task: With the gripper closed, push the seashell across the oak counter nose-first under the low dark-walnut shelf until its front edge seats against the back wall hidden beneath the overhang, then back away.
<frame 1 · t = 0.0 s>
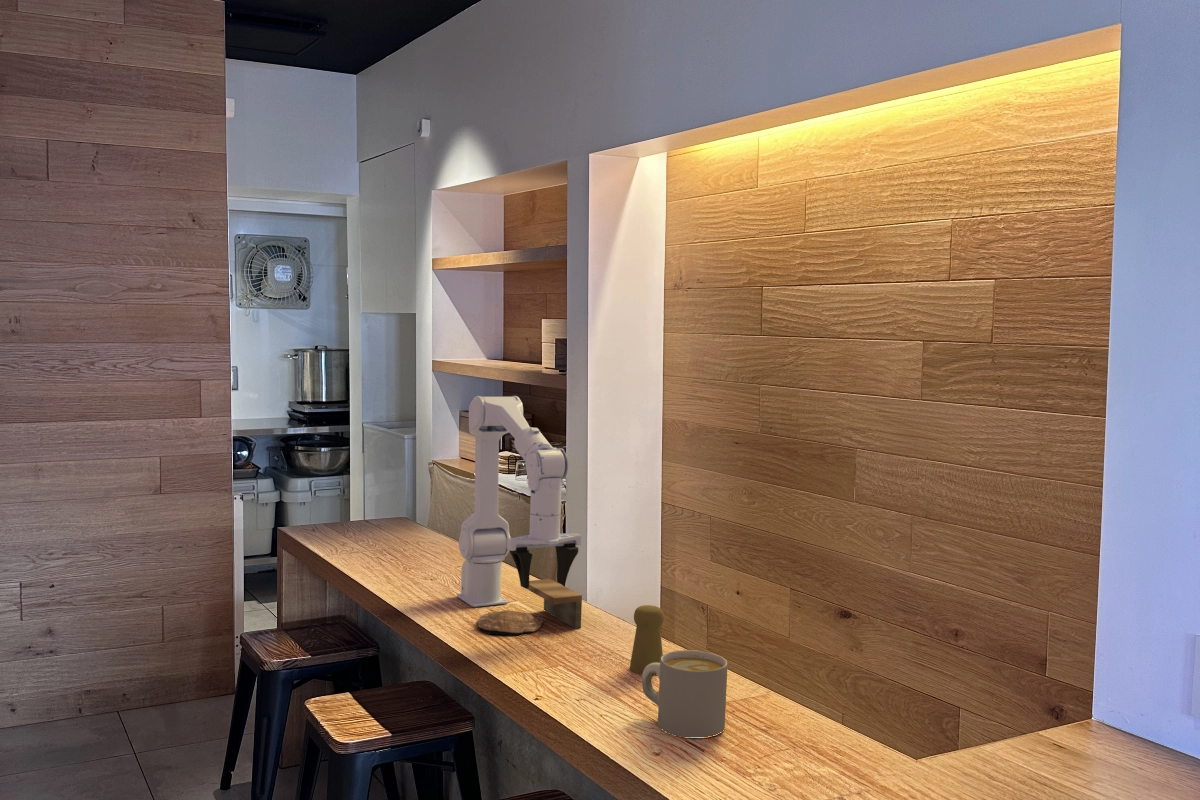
hand: (543, 585, 195), 10 cm above the table, tool pointing down, fingers open, 7 cm apart
coffee mug: (682, 724, 157), on the table
walnut shelf: (551, 620, 208), on the table
olive pepper mill: (646, 670, 181), on the table
shell: (507, 630, 203), on the table
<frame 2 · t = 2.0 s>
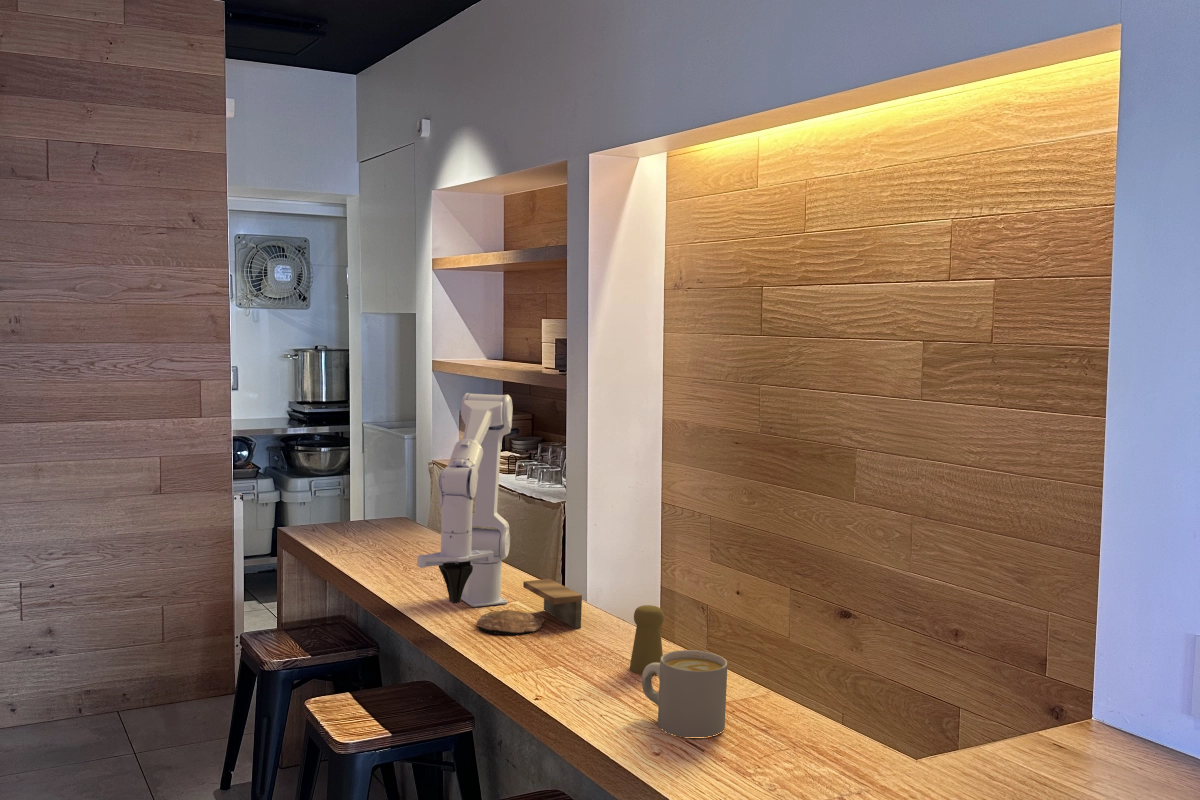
hand: (454, 602, 197), 6 cm above the table, tool pointing down, fingers closed
nothing on the table moved.
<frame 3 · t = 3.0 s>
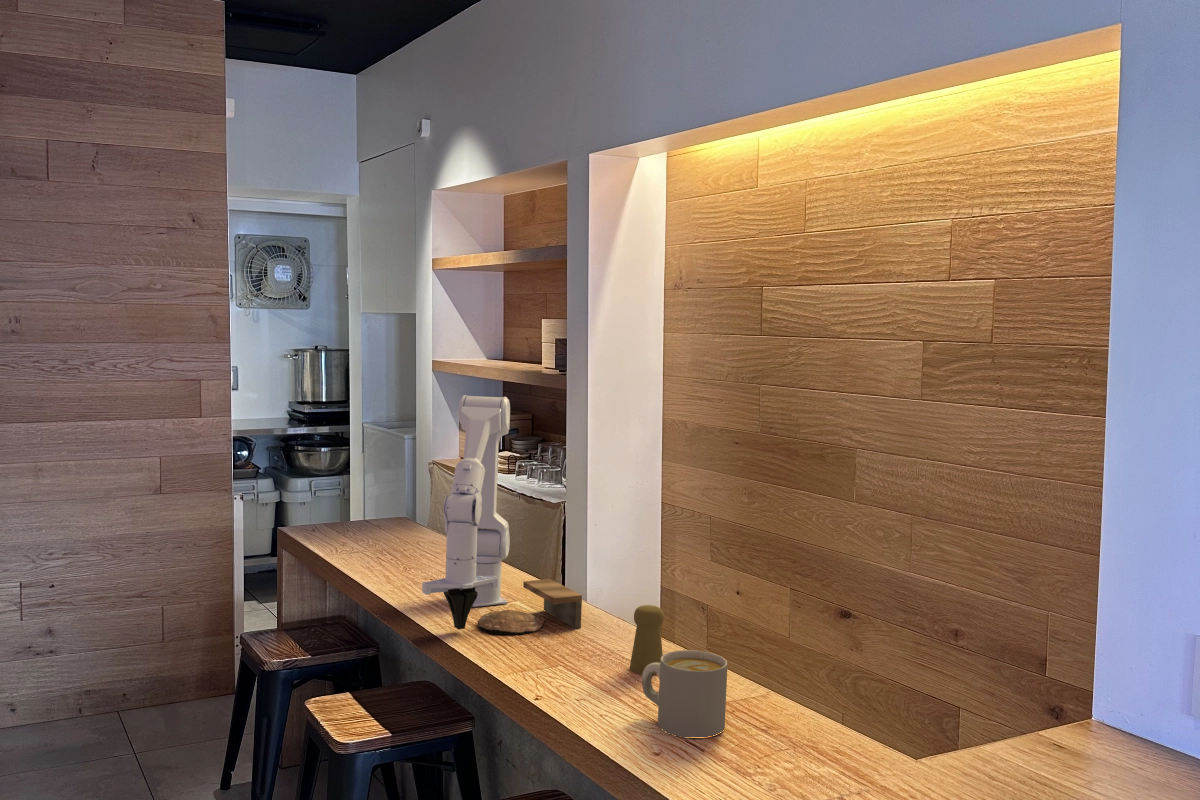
hand: (459, 627, 198), 1 cm above the table, tool pointing down, fingers closed
nothing on the table moved.
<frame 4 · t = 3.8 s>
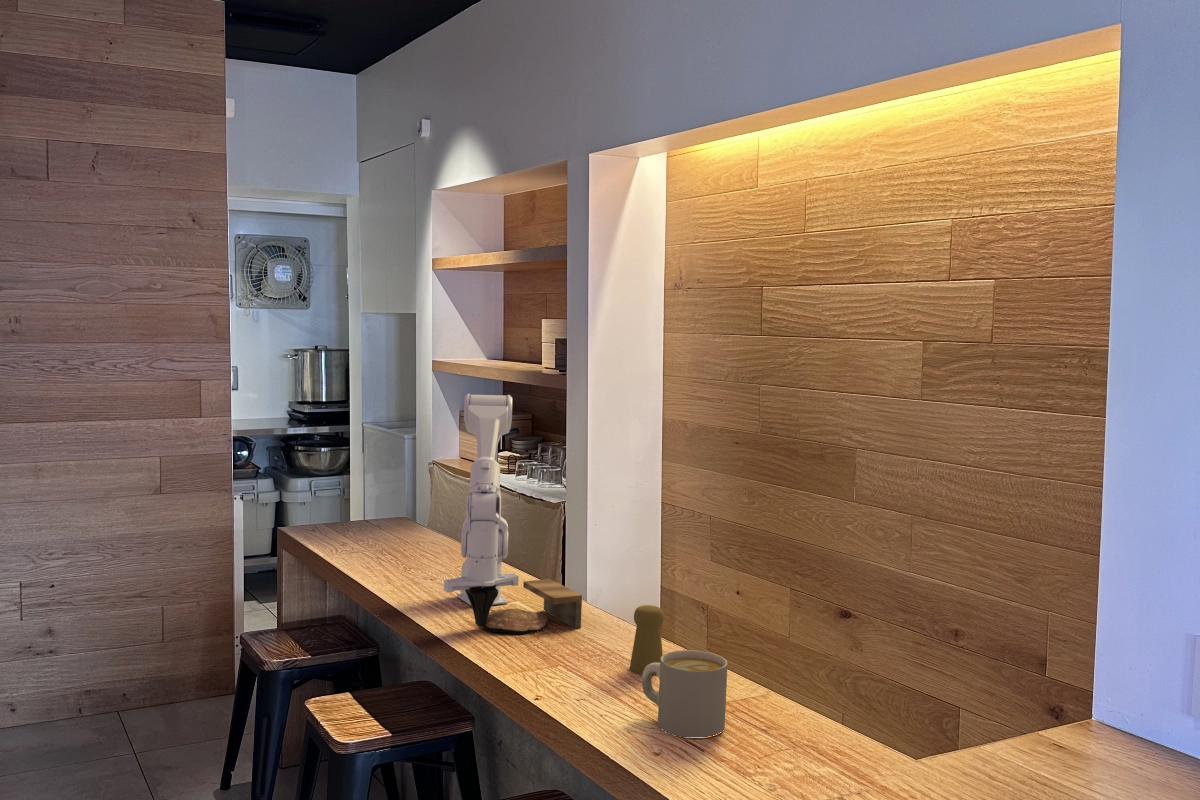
hand: (480, 625, 200), 1 cm above the table, tool pointing down, fingers closed
shell: (511, 628, 203), on the table, touching gripper
everything else where it was.
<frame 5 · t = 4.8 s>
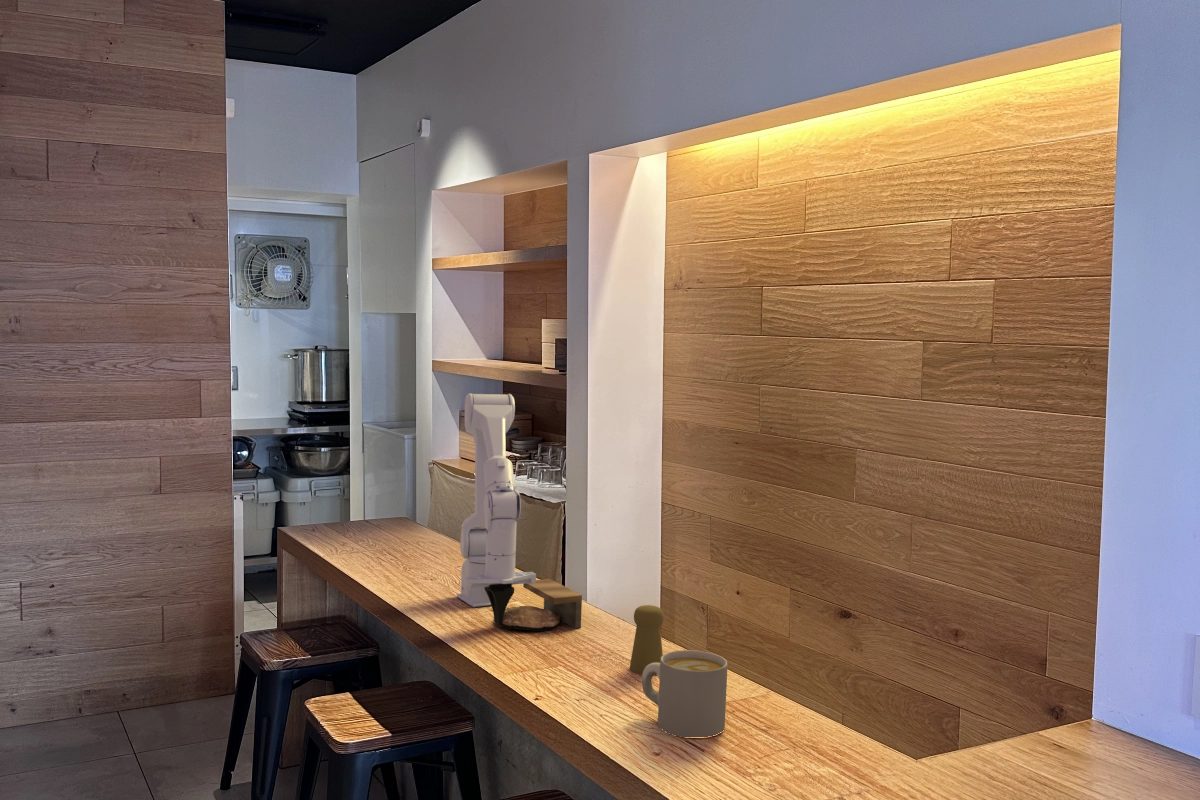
hand: (498, 622, 201), 1 cm above the table, tool pointing down, fingers closed, pressing on shell
shell: (526, 625, 205), on the table, touching gripper, walnut shelf
everything else where it was.
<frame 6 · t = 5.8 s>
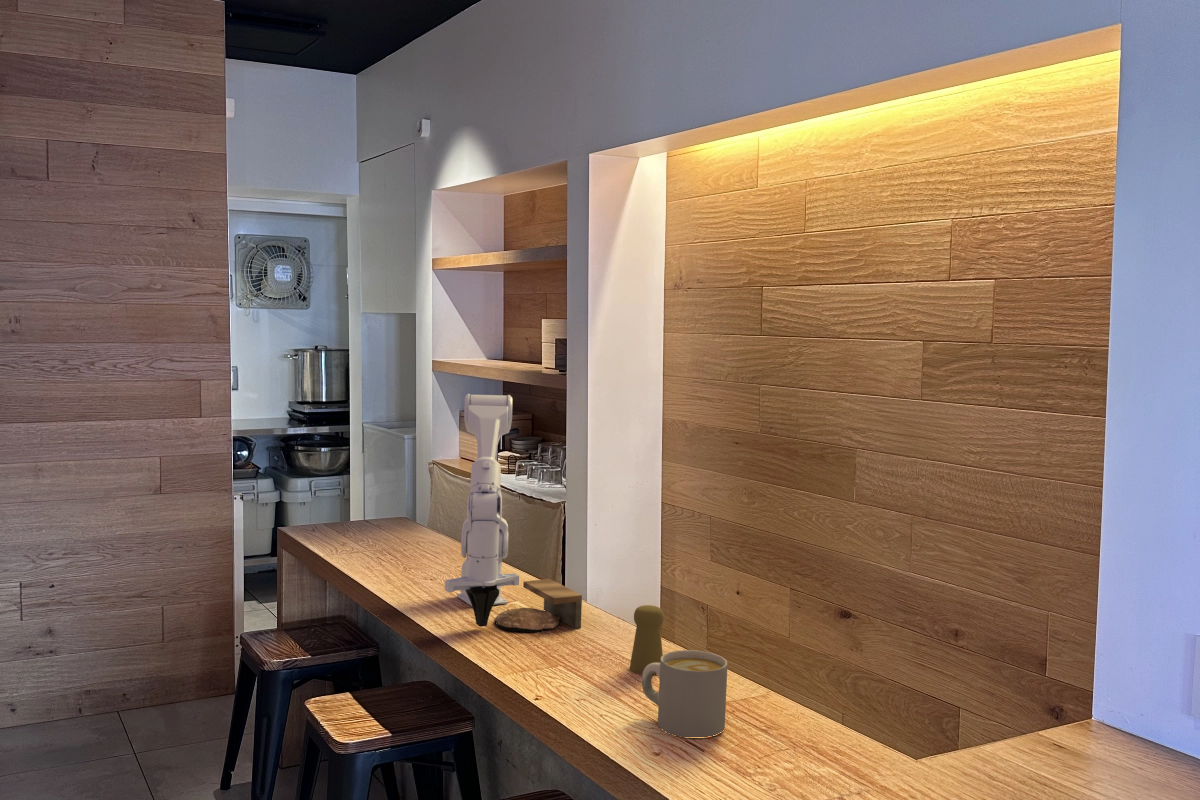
hand: (481, 625, 200), 1 cm above the table, tool pointing down, fingers closed
shell: (525, 627, 205), on the table
everything else where it was.
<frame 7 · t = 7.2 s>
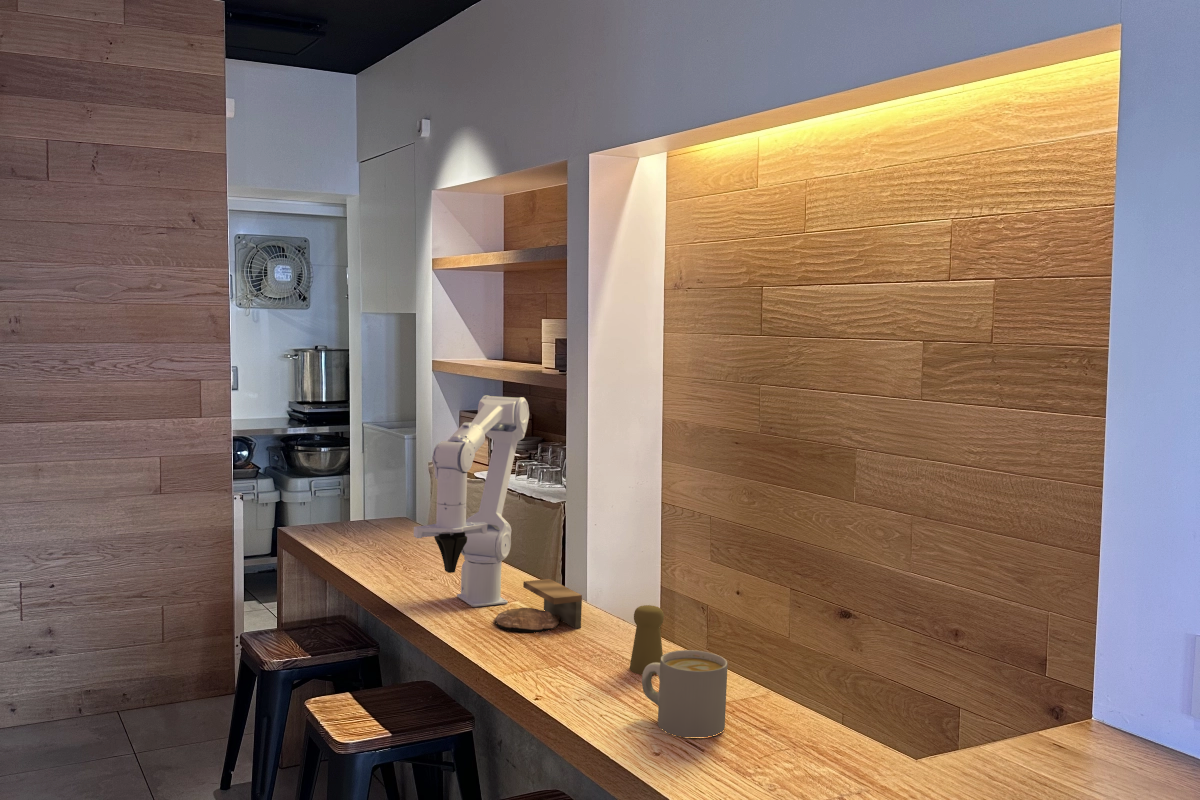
hand: (449, 571, 204), 10 cm above the table, tool pointing down, fingers closed
nothing on the table moved.
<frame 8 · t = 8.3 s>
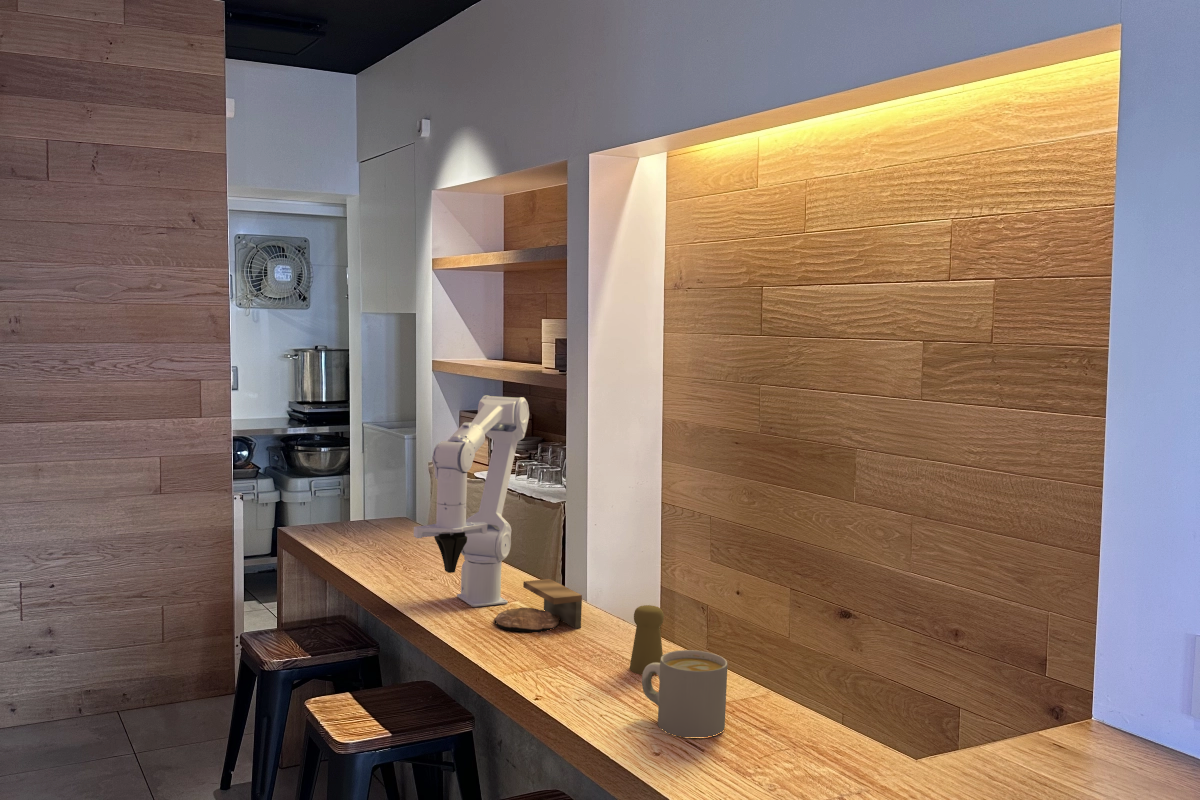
hand: (449, 571, 204), 10 cm above the table, tool pointing down, fingers closed
nothing on the table moved.
at the end: shell inside the target area (2.2 cm from its centre), on the table; shell moved 4.2 cm from its start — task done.
